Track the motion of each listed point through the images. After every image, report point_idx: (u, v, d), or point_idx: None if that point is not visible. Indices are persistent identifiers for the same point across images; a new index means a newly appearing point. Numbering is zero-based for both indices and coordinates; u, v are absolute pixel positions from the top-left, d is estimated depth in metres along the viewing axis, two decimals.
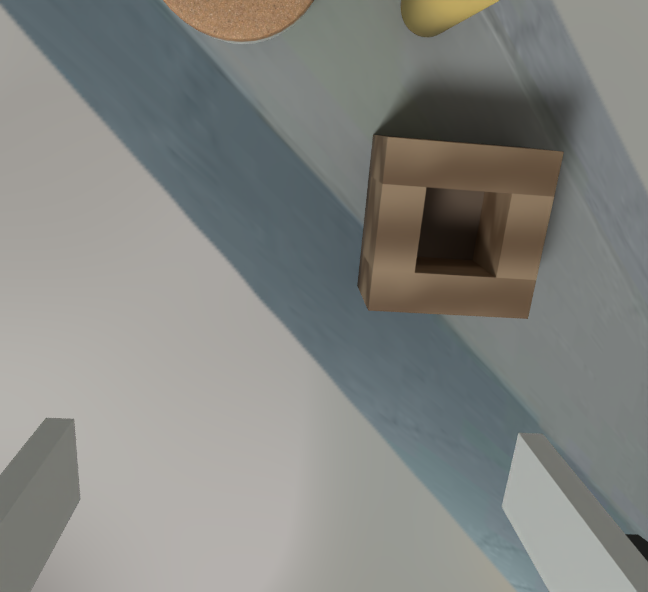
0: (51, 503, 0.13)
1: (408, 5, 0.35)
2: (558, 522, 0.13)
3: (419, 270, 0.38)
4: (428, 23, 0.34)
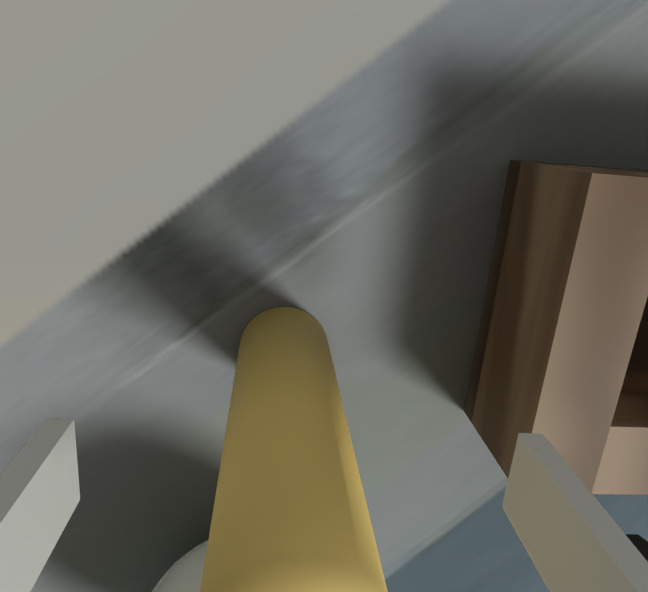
0: (51, 503, 0.13)
1: None
2: (558, 522, 0.13)
3: None
4: None
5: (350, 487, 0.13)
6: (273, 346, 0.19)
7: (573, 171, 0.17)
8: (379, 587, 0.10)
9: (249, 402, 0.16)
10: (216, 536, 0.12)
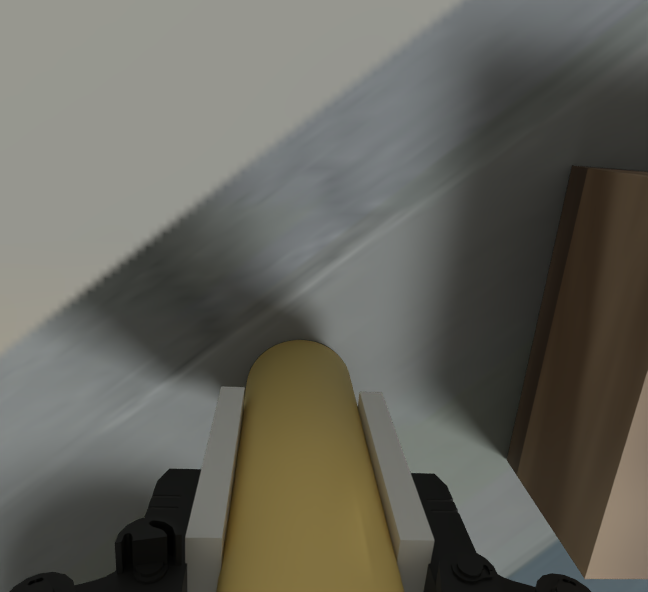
0: None
1: None
2: None
3: None
4: None
5: None
6: (287, 398, 0.15)
7: None
8: None
9: (256, 485, 0.12)
10: None
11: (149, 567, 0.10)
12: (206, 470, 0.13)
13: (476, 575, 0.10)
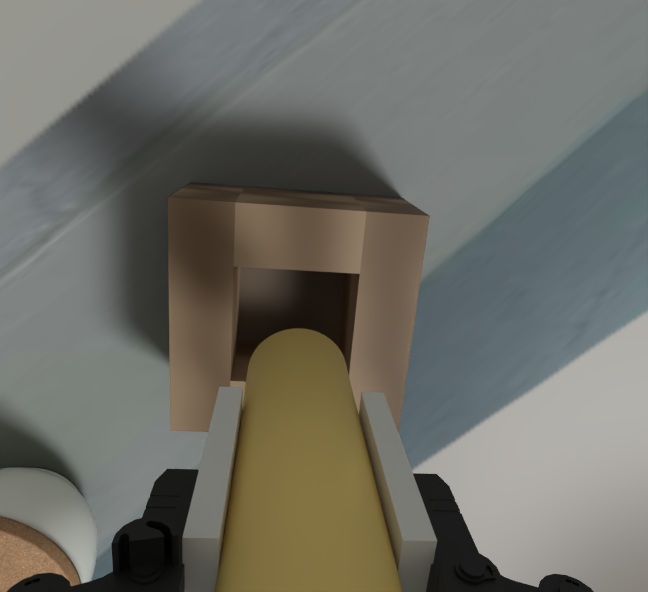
0: None
1: None
2: (371, 465, 0.15)
3: (347, 368, 0.28)
4: None
5: (386, 584, 0.10)
6: (286, 381, 0.16)
7: (172, 195, 0.24)
8: None
9: (257, 456, 0.13)
10: None
11: (146, 567, 0.10)
12: (204, 470, 0.13)
13: (479, 575, 0.10)
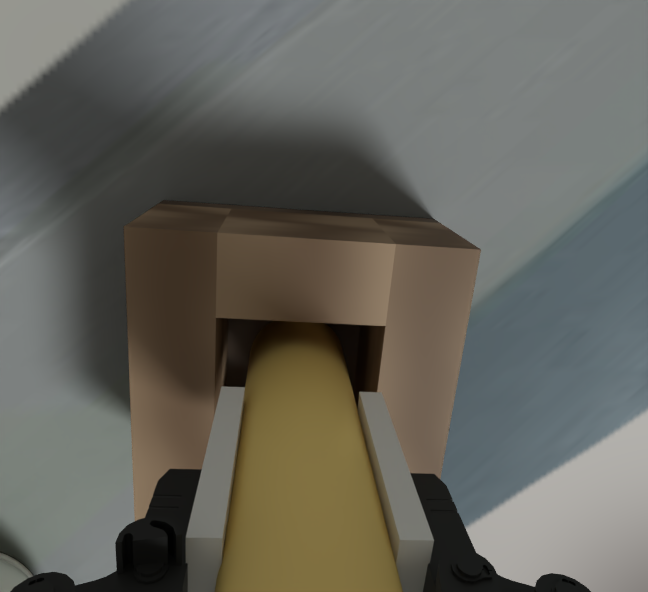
0: None
1: None
2: None
3: None
4: None
5: (373, 525, 0.11)
6: (286, 360, 0.18)
7: (132, 221, 0.18)
8: None
9: (260, 423, 0.15)
10: (224, 583, 0.10)
11: (150, 567, 0.10)
12: (206, 470, 0.13)
13: (476, 575, 0.10)
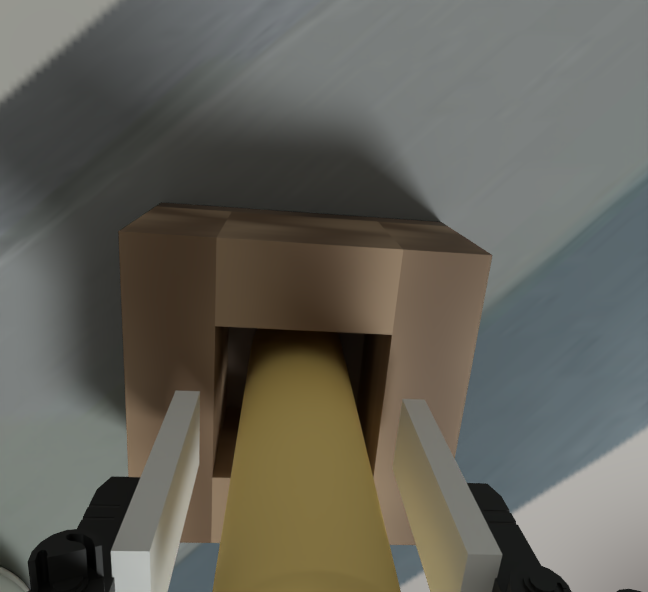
0: (190, 462, 0.15)
1: None
2: (419, 474, 0.15)
3: (371, 455, 0.20)
4: None
5: (365, 499, 0.12)
6: (286, 350, 0.19)
7: (128, 226, 0.17)
8: None
9: (260, 408, 0.16)
10: (226, 550, 0.11)
11: (68, 583, 0.10)
12: (145, 479, 0.12)
13: (549, 591, 0.10)
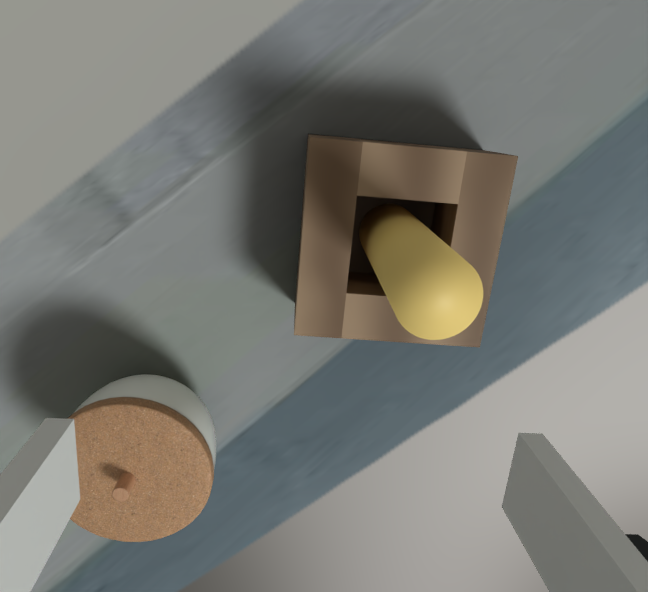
0: (51, 503, 0.13)
1: None
2: (558, 521, 0.13)
3: None
4: None
5: None
6: (393, 215, 0.32)
7: (309, 137, 0.30)
8: (478, 276, 0.23)
9: (390, 231, 0.28)
10: (396, 264, 0.24)
11: None
12: None
13: None
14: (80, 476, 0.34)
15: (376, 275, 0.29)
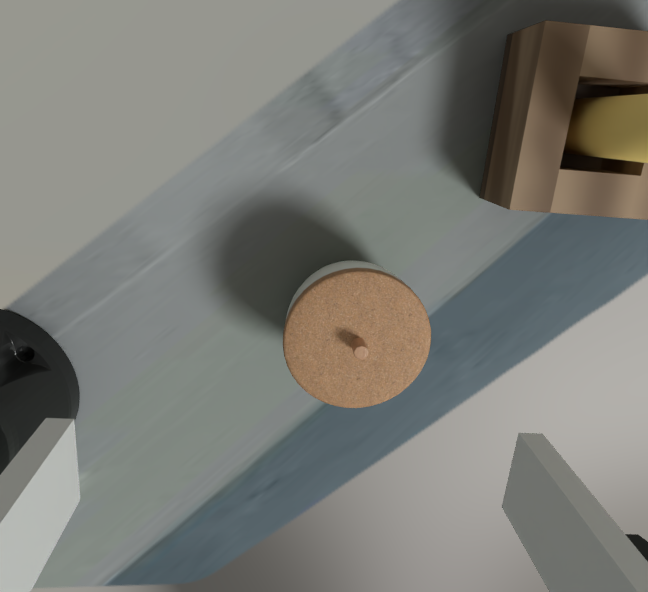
0: (51, 503, 0.13)
1: None
2: (558, 522, 0.13)
3: (635, 167, 0.37)
4: None
5: None
6: (604, 97, 0.36)
7: (537, 24, 0.34)
8: None
9: (623, 100, 0.33)
10: None
11: None
12: None
13: None
14: (317, 341, 0.37)
15: (606, 141, 0.33)
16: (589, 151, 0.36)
